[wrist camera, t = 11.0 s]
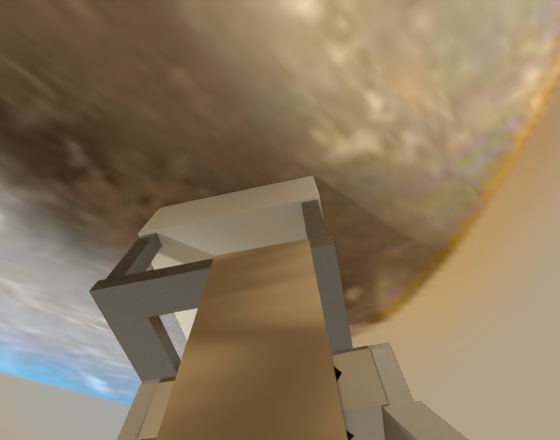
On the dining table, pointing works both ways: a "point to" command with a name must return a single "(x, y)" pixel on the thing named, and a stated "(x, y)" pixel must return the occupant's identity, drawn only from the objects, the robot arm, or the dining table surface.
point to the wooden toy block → (257, 354)
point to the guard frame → (197, 297)
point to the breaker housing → (229, 226)
